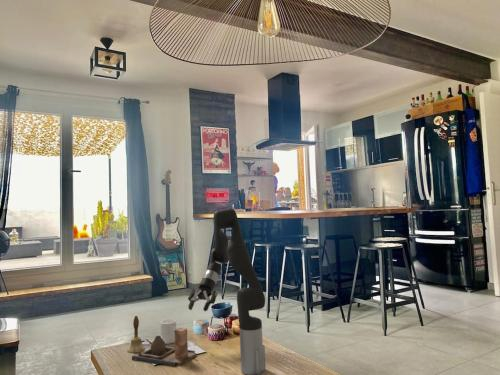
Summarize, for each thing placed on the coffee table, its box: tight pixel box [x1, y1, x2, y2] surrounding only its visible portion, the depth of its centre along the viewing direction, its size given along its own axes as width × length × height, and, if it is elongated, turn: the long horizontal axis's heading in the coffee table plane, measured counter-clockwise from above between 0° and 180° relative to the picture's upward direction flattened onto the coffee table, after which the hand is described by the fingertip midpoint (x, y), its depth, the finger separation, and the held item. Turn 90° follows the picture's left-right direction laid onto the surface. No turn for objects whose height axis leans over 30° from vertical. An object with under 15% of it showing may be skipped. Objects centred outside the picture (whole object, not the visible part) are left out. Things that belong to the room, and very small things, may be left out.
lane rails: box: [131, 349, 196, 368], centre depth 173 cm, size 24×15×2 cm, turn 64°
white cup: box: [160, 319, 177, 345], centre depth 195 cm, size 8×8×10 cm
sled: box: [138, 327, 198, 366], centre depth 173 cm, size 23×12×13 cm, turn 64°
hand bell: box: [127, 315, 146, 354], centre depth 185 cm, size 8×8×16 cm
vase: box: [150, 335, 167, 356], centre depth 175 cm, size 7×7×9 cm
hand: (197, 309), depth 182 cm, fingers open, 8 cm apart
